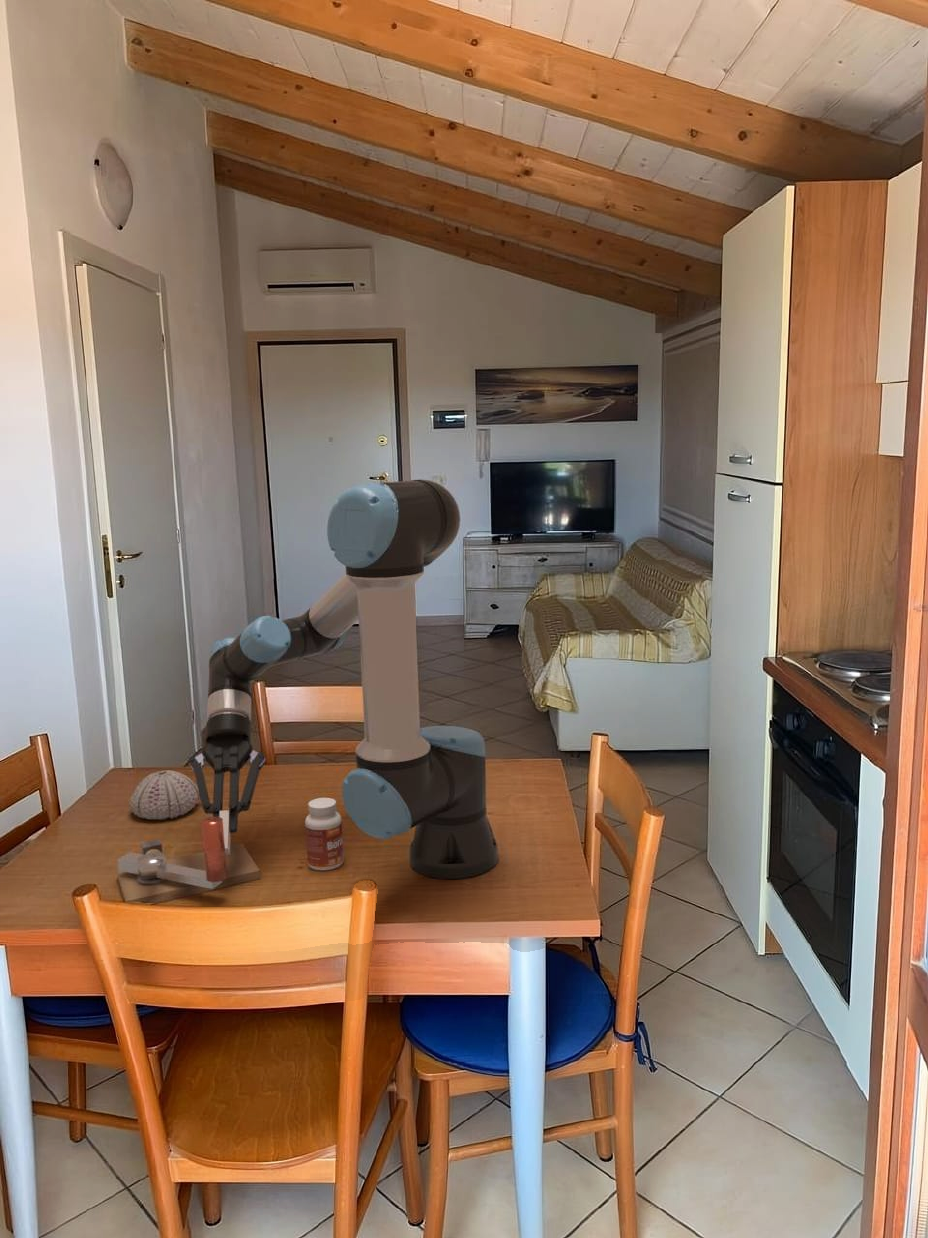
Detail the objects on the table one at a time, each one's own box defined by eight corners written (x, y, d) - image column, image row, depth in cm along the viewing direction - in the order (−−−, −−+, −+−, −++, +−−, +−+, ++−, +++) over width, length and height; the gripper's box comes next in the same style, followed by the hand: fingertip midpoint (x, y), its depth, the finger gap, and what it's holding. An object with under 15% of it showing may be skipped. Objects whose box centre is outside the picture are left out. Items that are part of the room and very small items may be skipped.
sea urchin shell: (170, 828, 177) (166, 788, 176) (114, 819, 182) (110, 780, 181) (214, 803, 189) (211, 765, 188) (161, 794, 194) (157, 758, 193)
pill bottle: (332, 874, 157) (329, 811, 154) (300, 869, 159) (296, 807, 157) (350, 858, 162) (347, 798, 160) (319, 853, 164) (315, 793, 162)
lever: (115, 872, 154) (108, 810, 152) (134, 861, 158) (127, 800, 156) (216, 893, 146) (211, 827, 144) (234, 881, 150) (229, 817, 147)
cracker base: (127, 910, 146) (124, 883, 146) (116, 873, 159) (113, 848, 158) (260, 878, 156) (258, 853, 155) (239, 846, 168) (237, 822, 167)
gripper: (269, 729, 168) (267, 856, 155) (194, 733, 166) (186, 863, 153) (264, 708, 161) (262, 840, 149) (186, 713, 160) (178, 846, 147)
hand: (224, 851), depth 151 cm, fingers closed
